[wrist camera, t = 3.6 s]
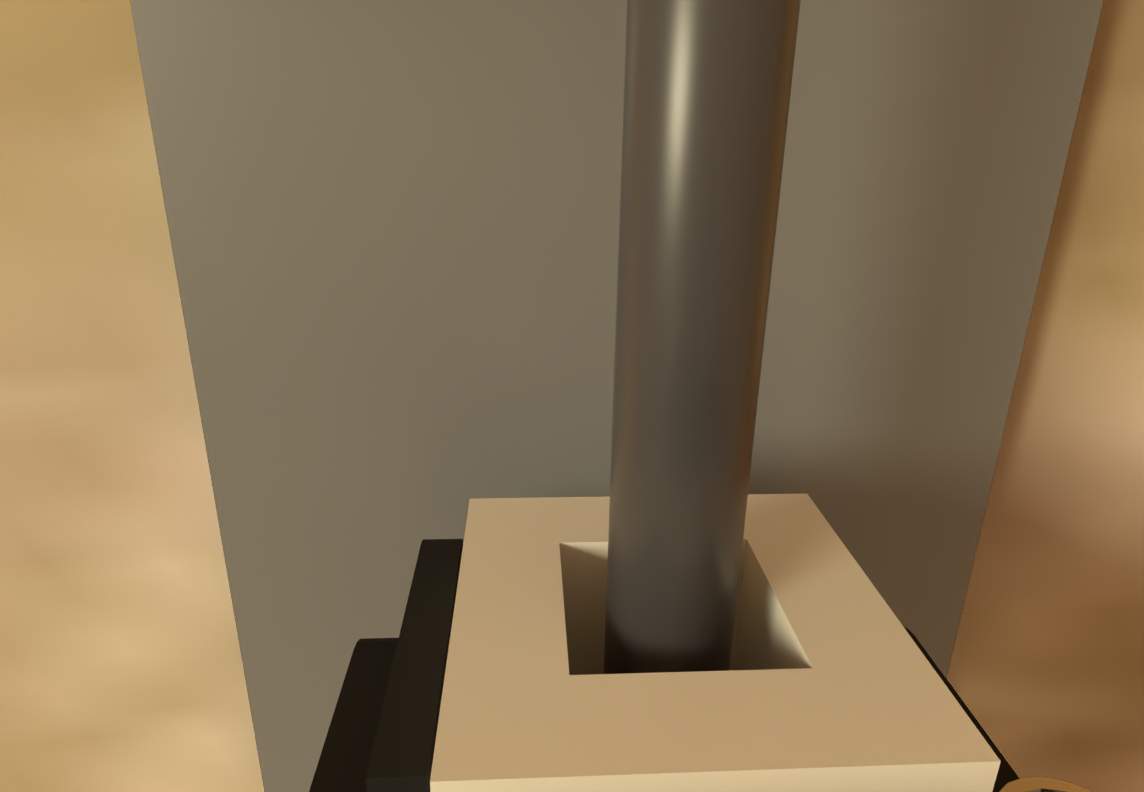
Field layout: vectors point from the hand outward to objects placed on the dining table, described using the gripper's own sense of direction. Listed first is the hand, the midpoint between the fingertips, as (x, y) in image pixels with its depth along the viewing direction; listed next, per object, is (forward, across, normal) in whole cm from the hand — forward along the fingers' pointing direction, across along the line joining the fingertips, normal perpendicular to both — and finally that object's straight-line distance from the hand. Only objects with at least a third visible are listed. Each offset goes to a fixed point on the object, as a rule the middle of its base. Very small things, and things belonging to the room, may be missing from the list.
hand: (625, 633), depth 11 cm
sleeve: (-1, 0, 0) cm, 1 cm away
